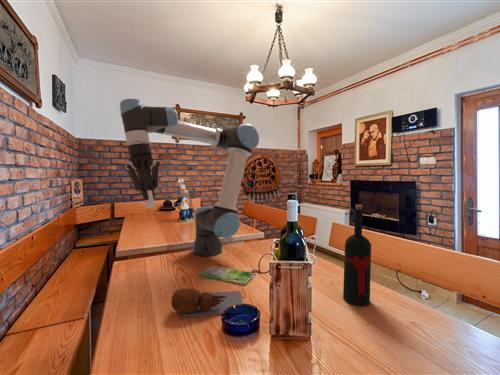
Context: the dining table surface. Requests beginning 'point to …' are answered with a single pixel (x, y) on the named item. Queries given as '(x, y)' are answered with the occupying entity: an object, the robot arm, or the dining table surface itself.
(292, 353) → the dining table surface
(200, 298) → the wooden figurine
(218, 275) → the green number grid board
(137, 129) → the robot arm
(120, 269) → the dining table surface
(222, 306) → the charcoal rubber mat
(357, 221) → the wine bottle
